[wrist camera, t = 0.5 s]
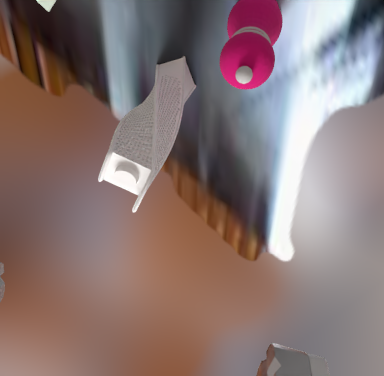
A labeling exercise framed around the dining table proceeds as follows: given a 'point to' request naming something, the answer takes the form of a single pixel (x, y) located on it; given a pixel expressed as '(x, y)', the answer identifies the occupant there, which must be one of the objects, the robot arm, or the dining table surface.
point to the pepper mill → (251, 43)
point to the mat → (47, 4)
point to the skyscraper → (148, 131)
